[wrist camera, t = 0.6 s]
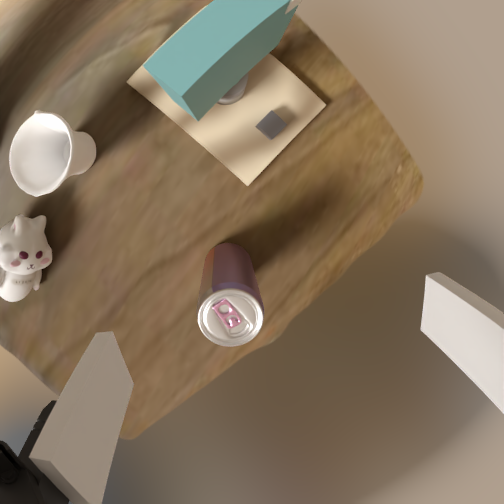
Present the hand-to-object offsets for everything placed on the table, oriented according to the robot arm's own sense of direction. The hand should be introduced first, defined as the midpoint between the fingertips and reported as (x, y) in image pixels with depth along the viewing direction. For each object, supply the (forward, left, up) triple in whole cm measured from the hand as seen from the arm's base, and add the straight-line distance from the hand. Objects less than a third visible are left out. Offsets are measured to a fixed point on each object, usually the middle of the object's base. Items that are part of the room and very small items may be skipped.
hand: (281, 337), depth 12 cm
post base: (-12, +10, -29) cm, 33 cm away
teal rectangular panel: (-12, +10, -21) cm, 26 cm away
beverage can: (+3, -6, -29) cm, 30 cm away
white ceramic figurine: (-20, -24, -29) cm, 42 cm away
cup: (-22, -8, -29) cm, 37 cm away
